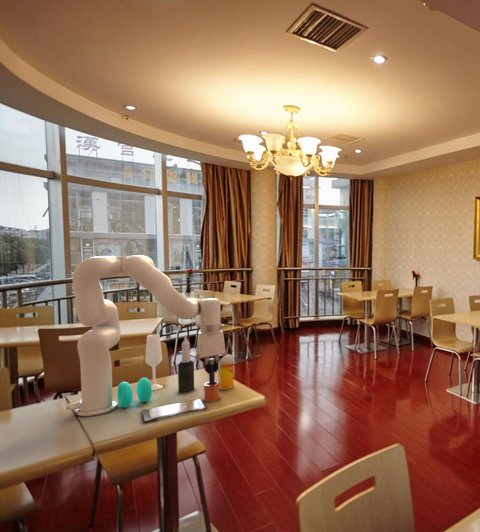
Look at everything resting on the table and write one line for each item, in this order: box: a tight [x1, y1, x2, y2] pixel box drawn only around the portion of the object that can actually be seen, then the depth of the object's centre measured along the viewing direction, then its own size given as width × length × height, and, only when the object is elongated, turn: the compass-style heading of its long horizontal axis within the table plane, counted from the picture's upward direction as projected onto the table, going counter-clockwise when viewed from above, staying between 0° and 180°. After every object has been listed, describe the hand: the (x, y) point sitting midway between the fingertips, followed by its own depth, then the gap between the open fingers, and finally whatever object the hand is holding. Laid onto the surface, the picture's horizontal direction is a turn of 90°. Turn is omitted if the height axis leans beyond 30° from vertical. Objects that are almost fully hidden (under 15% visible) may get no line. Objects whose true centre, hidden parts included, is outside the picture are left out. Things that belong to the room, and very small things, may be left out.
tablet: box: [142, 398, 206, 424], centre depth 151 cm, size 20×12×1 cm, turn 127°
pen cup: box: [203, 380, 220, 402], centre depth 162 cm, size 5×5×7 cm
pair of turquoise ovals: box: [116, 377, 153, 409], centre depth 157 cm, size 10×10×10 cm
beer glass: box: [217, 353, 234, 391], centre depth 176 cm, size 6×6×15 cm
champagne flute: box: [144, 333, 164, 391], centre depth 176 cm, size 7×7×24 cm
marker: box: [208, 357, 216, 385], centre depth 162 cm, size 2×2×12 cm
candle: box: [177, 335, 195, 394], centre depth 171 cm, size 5×5×25 cm
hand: (211, 371), depth 162 cm, fingers closed on marker, 2 cm apart
